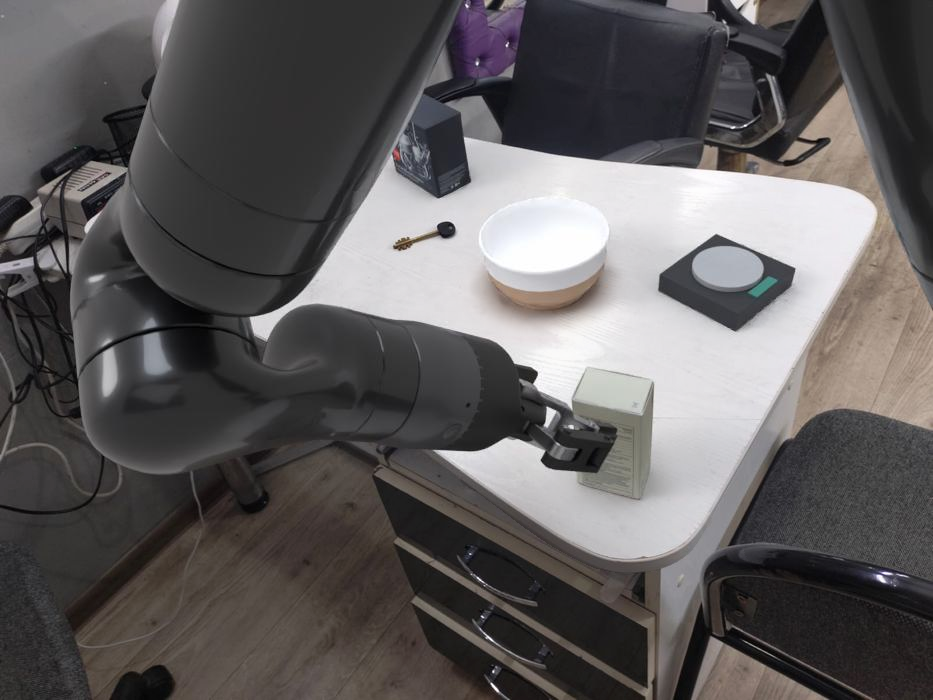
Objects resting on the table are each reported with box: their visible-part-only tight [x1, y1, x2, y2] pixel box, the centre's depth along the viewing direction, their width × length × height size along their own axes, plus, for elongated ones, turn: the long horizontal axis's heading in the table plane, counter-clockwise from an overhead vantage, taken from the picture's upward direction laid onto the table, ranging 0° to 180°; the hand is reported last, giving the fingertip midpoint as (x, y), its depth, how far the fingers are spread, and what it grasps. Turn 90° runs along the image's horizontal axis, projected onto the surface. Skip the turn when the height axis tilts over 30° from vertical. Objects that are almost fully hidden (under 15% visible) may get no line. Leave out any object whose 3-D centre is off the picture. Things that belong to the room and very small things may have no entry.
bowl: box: [477, 196, 611, 311], centre depth 86 cm, size 16×16×8 cm
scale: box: [657, 233, 797, 332], centre depth 82 cm, size 11×11×3 cm
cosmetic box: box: [570, 366, 655, 500], centre depth 62 cm, size 6×4×12 cm
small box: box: [391, 93, 472, 199], centre depth 108 cm, size 13×7×12 cm, turn 36°
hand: (567, 408), depth 54 cm, fingers open, 8 cm apart
